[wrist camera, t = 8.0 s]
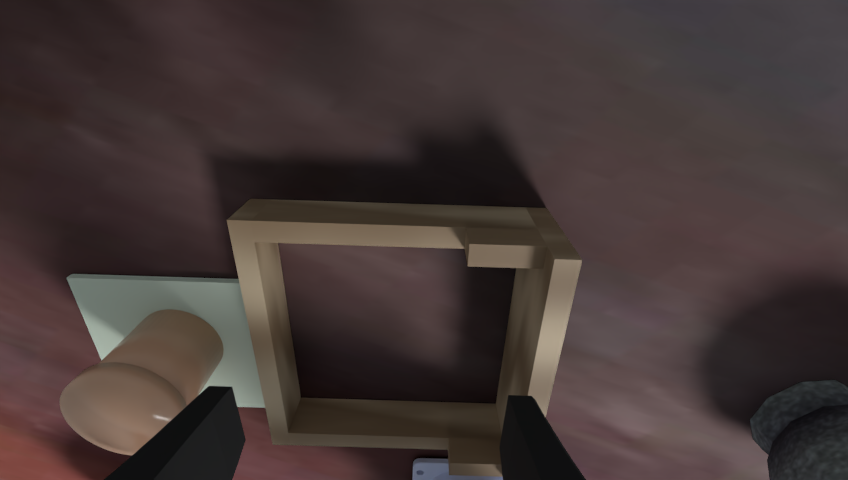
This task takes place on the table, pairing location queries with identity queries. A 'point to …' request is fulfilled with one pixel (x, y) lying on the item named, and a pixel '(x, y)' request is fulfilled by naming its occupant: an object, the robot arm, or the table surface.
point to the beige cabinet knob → (143, 381)
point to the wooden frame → (407, 227)
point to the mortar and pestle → (805, 431)
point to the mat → (204, 297)
